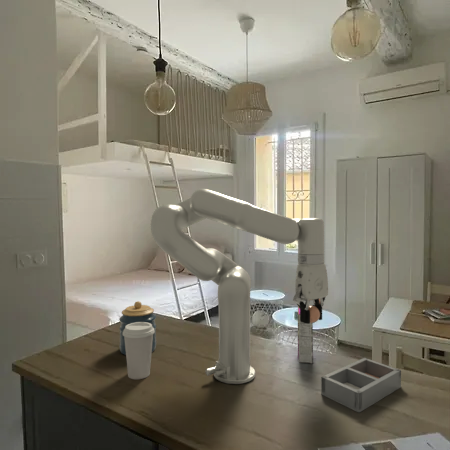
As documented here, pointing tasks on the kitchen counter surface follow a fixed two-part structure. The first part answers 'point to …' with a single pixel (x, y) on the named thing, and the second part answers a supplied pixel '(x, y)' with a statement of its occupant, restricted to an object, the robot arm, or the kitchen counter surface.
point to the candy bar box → (305, 341)
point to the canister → (137, 315)
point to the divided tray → (361, 383)
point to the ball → (314, 314)
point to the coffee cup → (138, 348)
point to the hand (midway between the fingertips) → (311, 320)
